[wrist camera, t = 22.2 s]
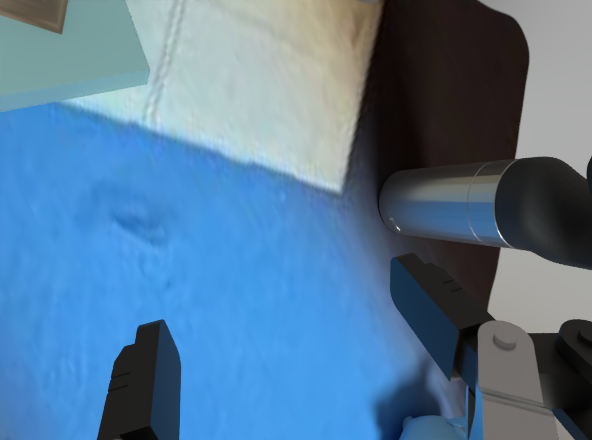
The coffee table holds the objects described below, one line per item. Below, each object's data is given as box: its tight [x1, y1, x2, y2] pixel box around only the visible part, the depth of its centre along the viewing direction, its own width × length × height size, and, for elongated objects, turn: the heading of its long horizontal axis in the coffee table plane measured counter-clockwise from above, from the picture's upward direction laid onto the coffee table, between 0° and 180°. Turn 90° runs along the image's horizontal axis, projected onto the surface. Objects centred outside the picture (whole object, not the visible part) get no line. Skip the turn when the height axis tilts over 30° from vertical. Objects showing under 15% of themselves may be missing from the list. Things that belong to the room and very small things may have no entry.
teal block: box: [0, 0, 150, 112], centre depth 30 cm, size 13×13×5 cm
